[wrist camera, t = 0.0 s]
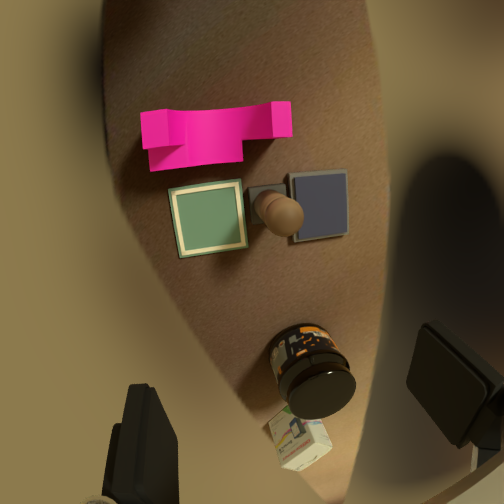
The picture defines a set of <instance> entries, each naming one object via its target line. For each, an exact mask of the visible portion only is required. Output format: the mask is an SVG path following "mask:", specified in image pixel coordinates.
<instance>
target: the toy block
mask: <svg viewBox="0 0 504 504" xmlns="http://www.w3.org/2000/svg"><path fill="white" fill-rule="evenodd" d="M141 129H142V142H143V149H148V154H149V165H150V172H152V171H159V170H167V169H175V168H183V167H191V166H198V165H206V164H215V163H227V162H242V161H243V151H242V140H257V139H278V138H286V137H292V119H291V103H290V102H269V103H265V104H261V105H255V106H248V107H240V108H231V109H219V110H204V111H174V110H169V109H162V110H155V111H149V112H142V113H141Z"/></svg>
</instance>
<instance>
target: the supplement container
mask: <svg viewBox="0 0 504 504" xmlns="http://www.w3.org/2000/svg"><path fill="white" fill-rule="evenodd" d="M269 362H270V365H271V367H272V369H273V372H274V375H275V378H276V381H277V384H278V388H279V392H280V395H281V397H282V398H283V399H284V400H285V401H286V402H287V404H288V406H289V409H290V411H291V413H292V414H293V415H294V416H296V417H297V418H300V419H304V420H317V419H321V418H325V417H328V416H330V415H332V414H334V413H336V412H337V411H339V410H340V409H342V408H343V407H344V406H345V405H346V404H347V403H348V402H349V401H350V400H351V398H352V397H353V395H354V392H355V389H356V381H355V378H354V377H353V375H352V374H351V372H350V366H349V363H348V361H347V359H346V358H345V357H344V356H343V355H342V354H341V352H340V351H339V349H338V348H337V346H336V345H335V343H334V342H333V340H332V339H331V336H330V335H329V333H328V332H327V331H326V330H325V329H324V328H322V327H321V326H319V325H316V324H312V323H301V324H297V325H294V326H291V327H289V328H287V329H285V330H284V331H282V332H281V333H280V334H279V335H278V336H277V337H276V338H275V339H274V341H273V342H272V344H271V346H270V349H269Z"/></svg>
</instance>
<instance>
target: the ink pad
mask: <svg viewBox="0 0 504 504" xmlns="http://www.w3.org/2000/svg"><path fill="white" fill-rule="evenodd" d="M287 176H288V188H289V198H291V199H293V200H295V201H296V202H298V203H299V205H300V206H301V208H302V210H303V213H304V222H303V225H302V227H301V228H300V230H299V231H298V232H297V233H295V234H293V235H292V240H293V241H294V242H300V241H307V240H313V239H320V238H326V237H333V236H340V235H346V234H349V207H348V179H347V169H330V170H316V171H304V172H293V173H287Z"/></svg>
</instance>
